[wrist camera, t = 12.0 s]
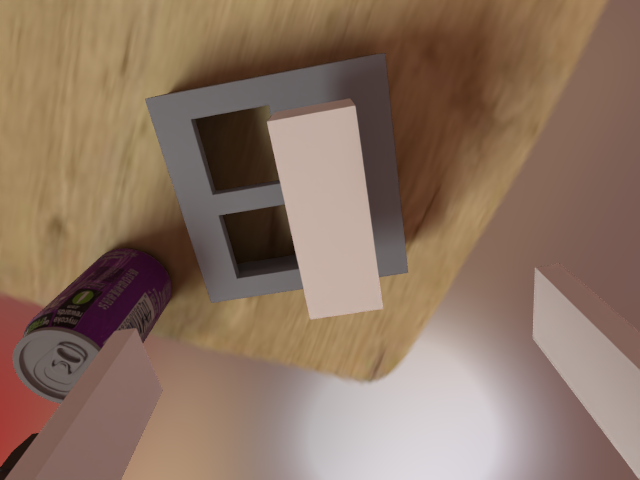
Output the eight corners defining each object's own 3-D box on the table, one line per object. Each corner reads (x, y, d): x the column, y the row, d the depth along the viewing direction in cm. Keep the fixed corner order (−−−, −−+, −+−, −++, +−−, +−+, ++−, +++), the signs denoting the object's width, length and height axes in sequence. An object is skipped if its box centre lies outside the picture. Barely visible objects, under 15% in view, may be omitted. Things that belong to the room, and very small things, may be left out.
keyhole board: (223, 276, 38) (211, 302, 34) (167, 93, 32) (144, 98, 28) (398, 248, 37) (408, 272, 33) (376, 53, 31) (385, 53, 27)
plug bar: (285, 99, 32) (266, 121, 21) (343, 89, 32) (355, 105, 21) (313, 241, 37) (310, 319, 26) (364, 232, 37) (383, 308, 26)
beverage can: (115, 230, 36) (26, 304, 25) (188, 271, 38) (134, 357, 27) (83, 288, 39) (-10, 380, 28) (154, 325, 40) (91, 425, 29)
